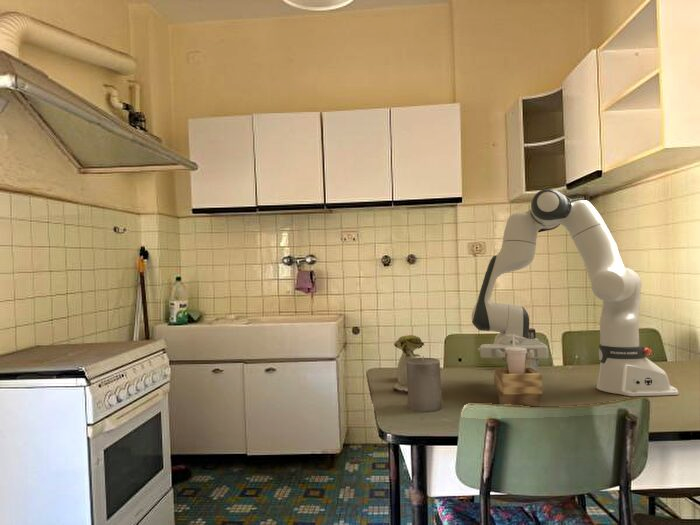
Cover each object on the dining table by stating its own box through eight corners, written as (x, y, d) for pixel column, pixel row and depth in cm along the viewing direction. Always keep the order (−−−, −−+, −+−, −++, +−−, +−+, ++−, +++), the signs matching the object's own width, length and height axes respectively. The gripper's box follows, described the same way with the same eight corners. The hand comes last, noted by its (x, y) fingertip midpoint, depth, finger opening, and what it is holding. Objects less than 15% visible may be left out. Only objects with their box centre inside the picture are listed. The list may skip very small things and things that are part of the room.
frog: (412, 396, 163) (410, 338, 164) (385, 390, 174) (384, 335, 174) (438, 391, 170) (436, 335, 171) (411, 385, 181) (409, 332, 181)
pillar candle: (423, 401, 157) (421, 352, 157) (449, 407, 149) (446, 355, 149) (401, 408, 150) (398, 356, 150) (426, 414, 143) (424, 360, 143)
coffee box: (535, 368, 204) (534, 327, 204) (537, 371, 198) (536, 329, 198) (511, 368, 206) (510, 328, 206) (512, 371, 200) (511, 329, 200)
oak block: (530, 385, 159) (529, 367, 159) (542, 393, 148) (541, 374, 148) (494, 386, 160) (493, 368, 160) (503, 394, 149) (503, 375, 149)
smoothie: (504, 378, 158) (503, 332, 158) (526, 379, 157) (525, 332, 157) (506, 383, 152) (504, 335, 152) (529, 383, 150) (527, 335, 151)
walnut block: (534, 399, 158) (534, 386, 158) (540, 408, 147) (540, 394, 147) (497, 398, 160) (497, 385, 160) (500, 407, 149) (500, 393, 150)
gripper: (477, 338, 169) (479, 344, 155) (543, 338, 165) (551, 344, 152) (477, 358, 169) (480, 365, 155) (543, 358, 165) (552, 366, 152)
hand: (516, 355), depth 153 cm, fingers closed on smoothie, 6 cm apart
